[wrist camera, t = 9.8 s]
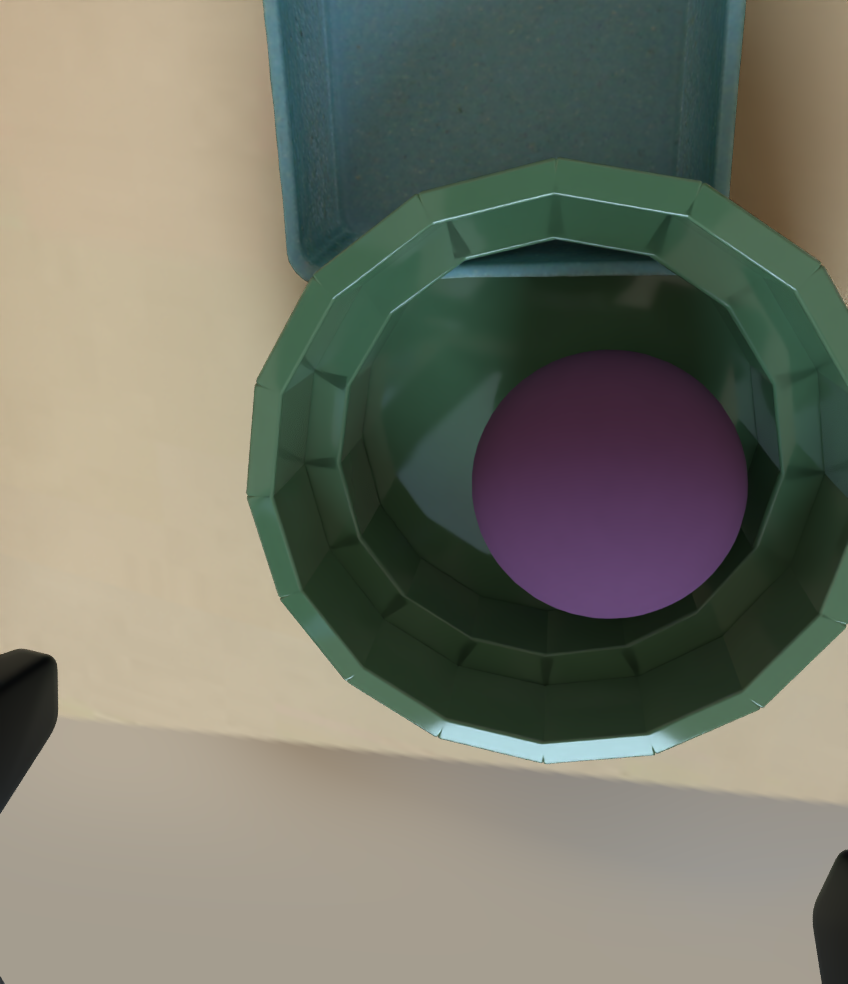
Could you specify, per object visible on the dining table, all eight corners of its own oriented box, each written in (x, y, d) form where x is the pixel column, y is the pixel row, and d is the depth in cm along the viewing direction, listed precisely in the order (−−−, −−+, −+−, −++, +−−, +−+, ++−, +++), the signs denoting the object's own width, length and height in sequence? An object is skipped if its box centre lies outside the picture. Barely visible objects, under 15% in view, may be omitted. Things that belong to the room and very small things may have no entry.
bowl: (723, 685, 22) (767, 818, 17) (297, 588, 23) (229, 689, 18) (893, 221, 17) (1016, 233, 12) (348, 129, 18) (275, 108, 14)
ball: (623, 543, 21) (755, 670, 16) (422, 539, 19) (502, 679, 14) (682, 335, 19) (855, 409, 14) (463, 309, 17) (572, 383, 12)
